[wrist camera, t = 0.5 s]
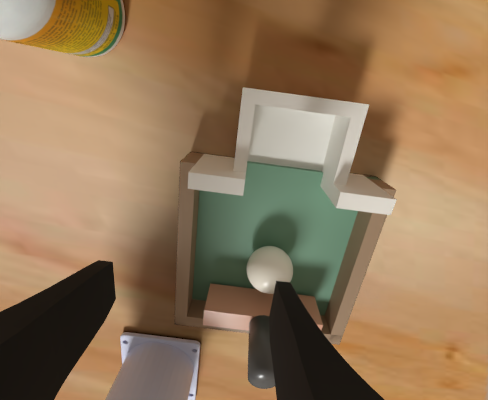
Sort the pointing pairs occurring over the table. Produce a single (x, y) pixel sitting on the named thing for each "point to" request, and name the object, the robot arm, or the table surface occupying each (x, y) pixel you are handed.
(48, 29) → the supplement bottle
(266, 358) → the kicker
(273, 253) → the ball
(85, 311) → the robot arm
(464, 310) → the table surface
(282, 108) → the pitch
